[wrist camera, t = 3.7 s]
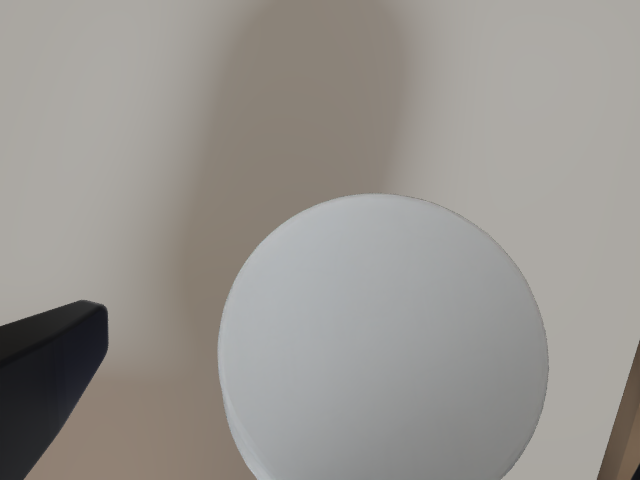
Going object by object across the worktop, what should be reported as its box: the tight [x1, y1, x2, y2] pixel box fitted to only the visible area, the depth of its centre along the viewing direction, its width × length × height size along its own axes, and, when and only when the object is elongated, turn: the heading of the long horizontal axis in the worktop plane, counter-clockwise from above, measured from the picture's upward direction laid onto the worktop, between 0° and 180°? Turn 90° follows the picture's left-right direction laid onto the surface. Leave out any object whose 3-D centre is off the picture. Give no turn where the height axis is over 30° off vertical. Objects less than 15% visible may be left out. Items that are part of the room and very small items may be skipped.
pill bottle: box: [218, 193, 549, 480], centre depth 13 cm, size 6×6×10 cm
